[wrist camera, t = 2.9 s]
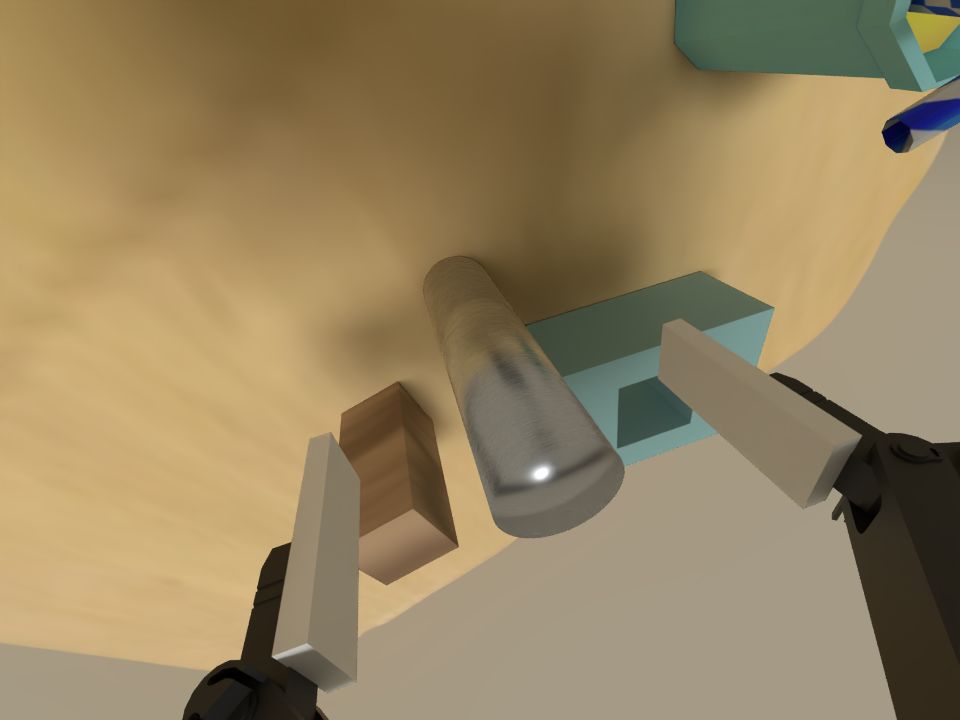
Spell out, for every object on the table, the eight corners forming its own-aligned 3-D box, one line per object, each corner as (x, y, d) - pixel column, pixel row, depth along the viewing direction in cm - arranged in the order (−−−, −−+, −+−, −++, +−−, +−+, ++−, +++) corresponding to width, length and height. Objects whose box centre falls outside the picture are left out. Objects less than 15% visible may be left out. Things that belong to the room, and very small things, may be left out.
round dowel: (414, 267, 21) (479, 475, 9) (481, 248, 22) (627, 424, 10) (433, 326, 24) (504, 553, 12) (493, 308, 24) (622, 510, 12)
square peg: (341, 413, 26) (330, 553, 18) (397, 381, 25) (412, 508, 17) (380, 449, 28) (386, 585, 20) (431, 420, 28) (458, 546, 20)
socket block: (513, 329, 25) (547, 382, 21) (700, 271, 27) (774, 307, 22) (530, 430, 31) (560, 489, 26) (683, 378, 32) (738, 426, 28)
